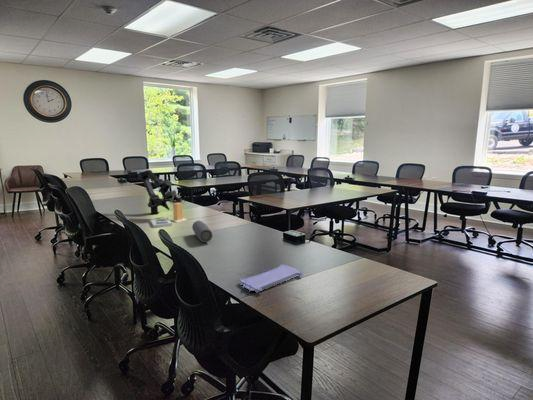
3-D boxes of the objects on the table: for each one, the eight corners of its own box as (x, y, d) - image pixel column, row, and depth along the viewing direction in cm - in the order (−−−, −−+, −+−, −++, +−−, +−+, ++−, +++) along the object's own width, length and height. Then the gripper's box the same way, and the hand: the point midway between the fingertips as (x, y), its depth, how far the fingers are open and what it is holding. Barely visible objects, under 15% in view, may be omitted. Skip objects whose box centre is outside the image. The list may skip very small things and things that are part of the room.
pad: (169, 220, 262) (169, 219, 262) (179, 217, 270) (179, 217, 270) (176, 222, 256) (176, 221, 256) (187, 220, 264) (187, 219, 263)
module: (173, 219, 262) (173, 203, 260) (179, 218, 266) (178, 202, 264) (177, 220, 259) (176, 204, 257) (182, 219, 263) (182, 203, 261)
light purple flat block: (234, 285, 152) (256, 297, 141) (234, 277, 151) (256, 288, 140) (281, 268, 171) (303, 277, 161) (281, 260, 171) (303, 269, 160)
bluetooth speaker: (191, 234, 226) (191, 220, 224) (205, 233, 229) (204, 219, 227) (198, 245, 205) (198, 229, 203) (213, 243, 209) (213, 227, 207)
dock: (150, 221, 258) (150, 218, 257) (167, 220, 263) (167, 217, 263) (153, 227, 242) (153, 224, 241) (172, 225, 247) (171, 222, 247)
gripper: (158, 188, 257) (167, 204, 253) (179, 185, 271) (187, 201, 267) (153, 197, 264) (162, 213, 259) (173, 194, 278) (182, 209, 273)
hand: (174, 208), depth 264 cm, fingers open, 9 cm apart
